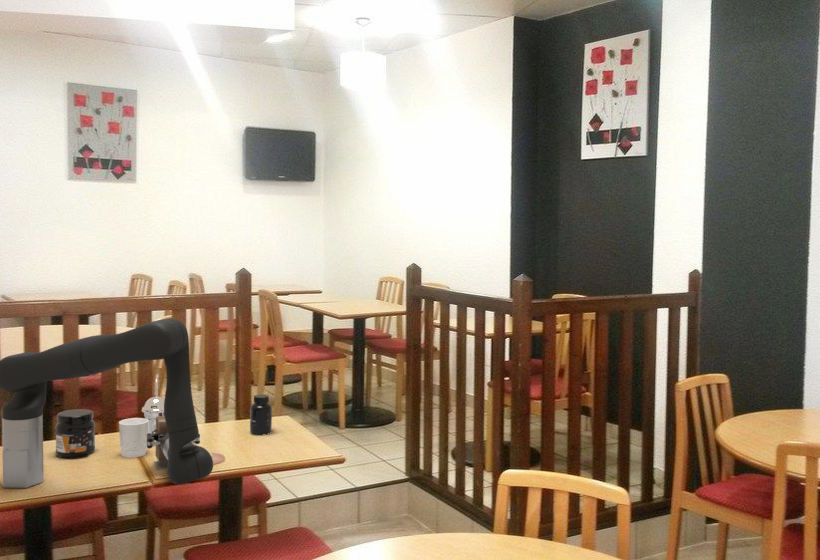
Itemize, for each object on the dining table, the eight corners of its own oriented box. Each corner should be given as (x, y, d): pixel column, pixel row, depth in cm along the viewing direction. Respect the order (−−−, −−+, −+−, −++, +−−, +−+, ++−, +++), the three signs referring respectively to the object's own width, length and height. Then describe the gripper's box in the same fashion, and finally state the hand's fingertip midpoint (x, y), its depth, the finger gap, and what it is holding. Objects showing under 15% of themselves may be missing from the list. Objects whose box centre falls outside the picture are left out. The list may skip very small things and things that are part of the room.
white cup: (138, 460, 218) (138, 425, 217) (113, 458, 220) (113, 423, 219) (153, 452, 226) (153, 418, 225) (129, 450, 227) (128, 417, 227)
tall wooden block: (183, 459, 213) (183, 420, 212) (159, 462, 210) (159, 422, 209) (179, 453, 218) (179, 414, 218) (155, 455, 216) (155, 416, 215)
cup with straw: (136, 443, 234) (135, 378, 233) (152, 436, 243) (151, 373, 242) (161, 446, 232) (161, 380, 231) (176, 438, 241) (176, 374, 240)
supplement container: (51, 460, 217) (50, 418, 216) (60, 449, 227) (59, 409, 227) (91, 458, 219) (91, 416, 218) (98, 447, 230) (98, 408, 229)
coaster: (187, 467, 212) (187, 466, 212) (157, 471, 209) (157, 469, 209) (182, 459, 220) (182, 458, 220) (153, 462, 216) (153, 461, 216)
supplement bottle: (246, 434, 246) (246, 397, 246) (254, 429, 253) (254, 393, 252) (267, 436, 245) (267, 398, 245) (274, 430, 252) (274, 394, 251)
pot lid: (220, 467, 213) (220, 460, 213) (183, 466, 213) (183, 459, 213) (228, 456, 223) (228, 449, 223) (193, 456, 223) (193, 449, 223)
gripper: (206, 431, 204) (194, 416, 219) (149, 436, 197) (141, 420, 212) (206, 459, 204) (194, 442, 219) (149, 465, 198) (140, 447, 213)
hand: (168, 431), depth 216 cm, fingers closed on tall wooden block, 6 cm apart
